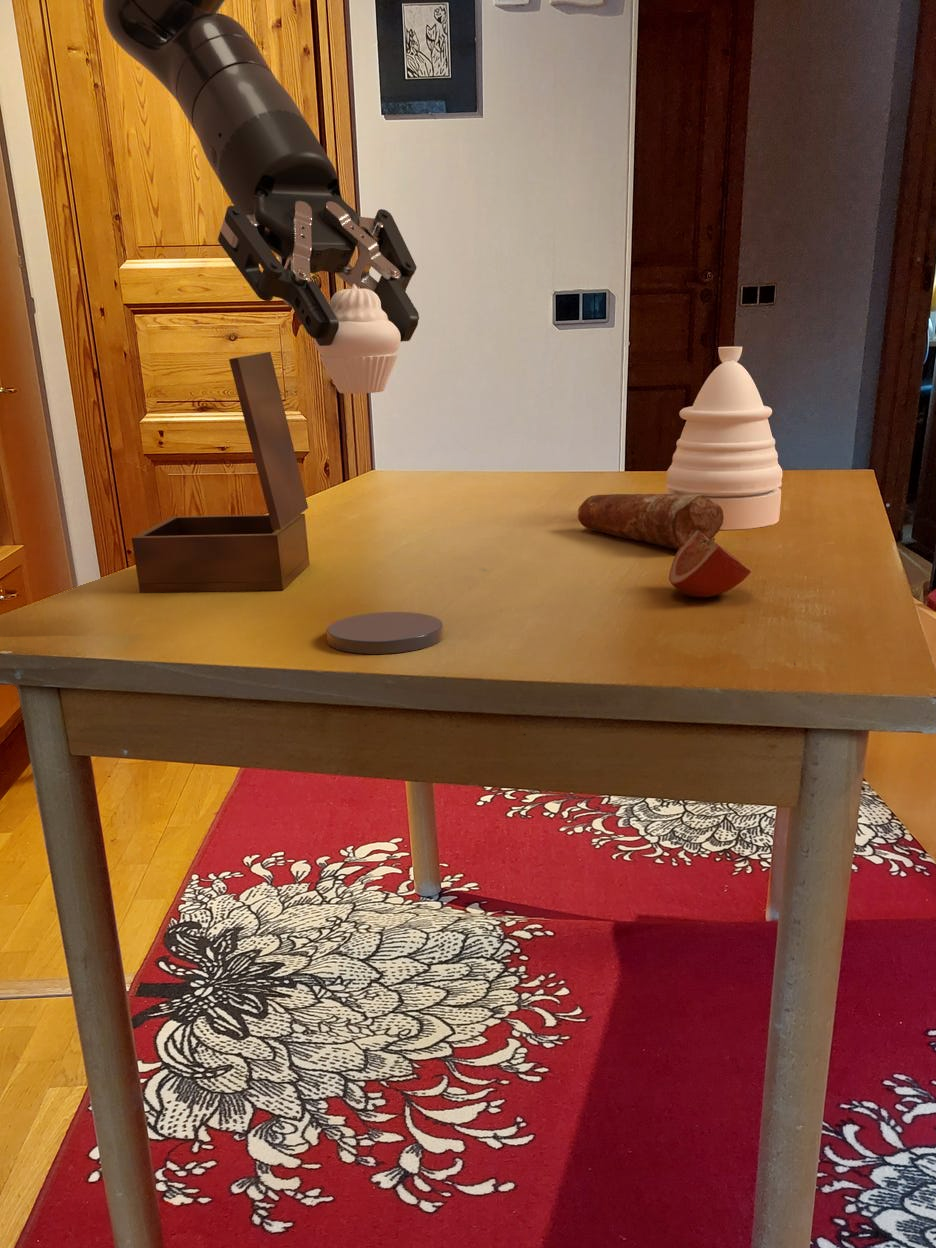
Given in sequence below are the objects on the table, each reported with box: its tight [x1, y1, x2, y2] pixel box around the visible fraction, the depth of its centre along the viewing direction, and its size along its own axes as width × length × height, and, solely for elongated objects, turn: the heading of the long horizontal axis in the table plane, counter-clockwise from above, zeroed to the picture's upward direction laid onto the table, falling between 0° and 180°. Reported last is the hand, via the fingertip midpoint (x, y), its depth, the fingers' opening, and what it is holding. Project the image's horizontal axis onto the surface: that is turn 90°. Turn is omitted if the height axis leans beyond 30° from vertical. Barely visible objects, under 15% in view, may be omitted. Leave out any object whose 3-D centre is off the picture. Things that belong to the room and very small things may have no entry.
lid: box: [228, 351, 309, 531], centre depth 107 cm, size 14×12×1 cm
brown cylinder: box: [577, 493, 724, 551], centre depth 123 cm, size 6×19×6 cm, turn 31°
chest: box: [131, 513, 311, 593], centre depth 112 cm, size 14×12×5 cm
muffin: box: [313, 284, 401, 395], centre depth 83 cm, size 6×6×7 cm
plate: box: [326, 611, 444, 655], centre depth 91 cm, size 9×9×1 cm
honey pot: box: [664, 346, 783, 531], centre depth 129 cm, size 13×13×18 cm
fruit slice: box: [668, 530, 752, 598], centre depth 99 cm, size 8×7×5 cm
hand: (371, 334), depth 81 cm, fingers closed on muffin, 6 cm apart
